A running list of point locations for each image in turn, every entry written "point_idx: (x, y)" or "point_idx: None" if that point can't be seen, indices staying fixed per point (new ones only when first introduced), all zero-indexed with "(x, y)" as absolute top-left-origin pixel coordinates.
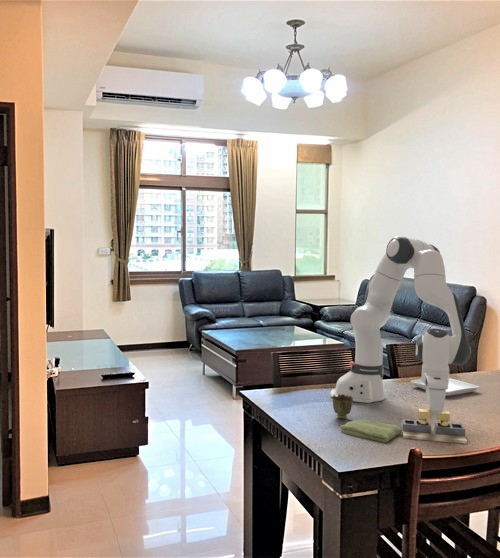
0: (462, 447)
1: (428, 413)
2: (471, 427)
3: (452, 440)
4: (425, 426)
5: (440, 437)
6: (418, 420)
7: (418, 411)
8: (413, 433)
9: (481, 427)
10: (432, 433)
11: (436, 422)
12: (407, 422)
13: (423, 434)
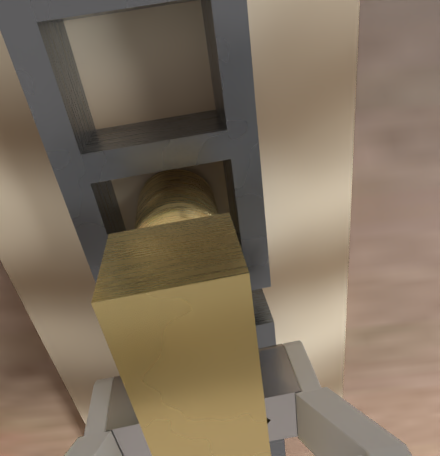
0: (18, 427)
1: (133, 396)
2: (403, 416)
3: (73, 391)
4: (91, 267)
5: (64, 337)
6: (260, 183)
7: (204, 261)
8: (22, 128)
9: (411, 445)
10: None
11: (257, 336)
12: (212, 40)
13: (54, 221)
